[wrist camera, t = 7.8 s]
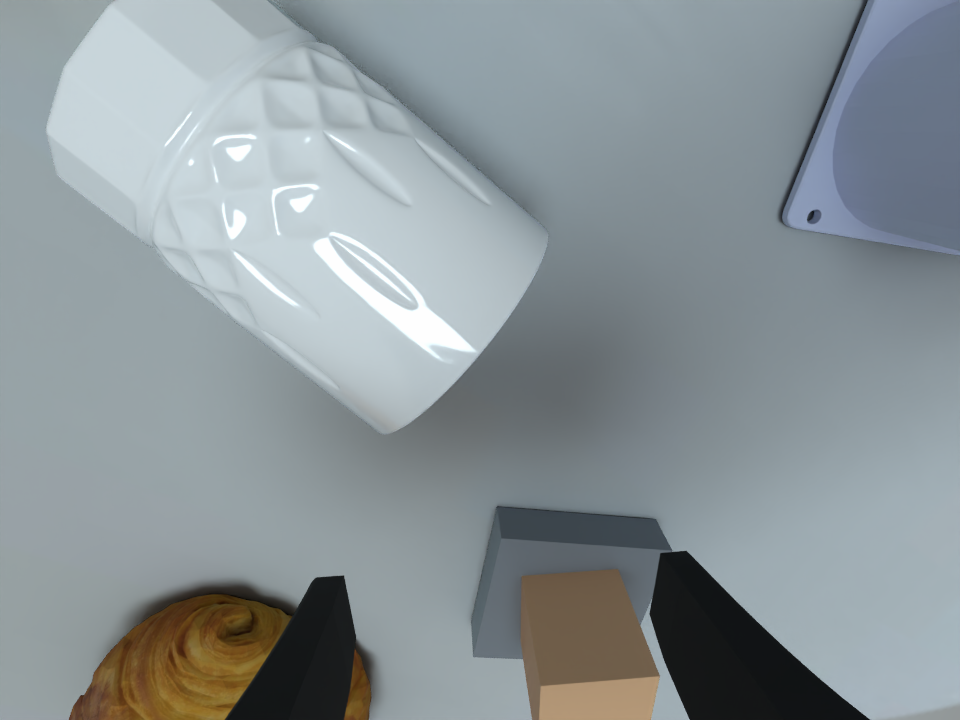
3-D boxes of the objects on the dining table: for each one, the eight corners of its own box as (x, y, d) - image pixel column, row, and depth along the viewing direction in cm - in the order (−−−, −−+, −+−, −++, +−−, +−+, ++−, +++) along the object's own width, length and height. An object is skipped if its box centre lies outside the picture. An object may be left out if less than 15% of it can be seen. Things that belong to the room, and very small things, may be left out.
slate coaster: (655, 519, 25) (672, 550, 23) (612, 628, 28) (623, 663, 26) (496, 506, 24) (501, 538, 22) (471, 621, 27) (473, 657, 25)
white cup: (296, -85, 13) (569, 188, 16) (216, 140, 18) (431, 316, 21) (14, -62, 7) (512, 353, 10) (14, 253, 13) (344, 471, 15)
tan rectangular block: (617, 569, 23) (659, 676, 19) (609, 633, 25) (645, 744, 21) (521, 575, 23) (540, 686, 19) (520, 640, 25) (537, 754, 21)
